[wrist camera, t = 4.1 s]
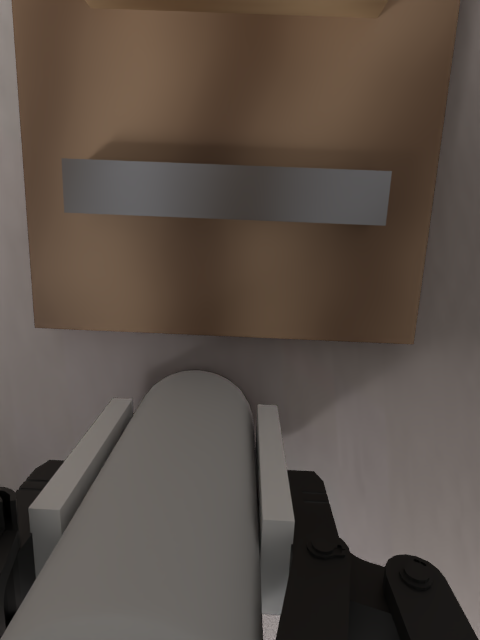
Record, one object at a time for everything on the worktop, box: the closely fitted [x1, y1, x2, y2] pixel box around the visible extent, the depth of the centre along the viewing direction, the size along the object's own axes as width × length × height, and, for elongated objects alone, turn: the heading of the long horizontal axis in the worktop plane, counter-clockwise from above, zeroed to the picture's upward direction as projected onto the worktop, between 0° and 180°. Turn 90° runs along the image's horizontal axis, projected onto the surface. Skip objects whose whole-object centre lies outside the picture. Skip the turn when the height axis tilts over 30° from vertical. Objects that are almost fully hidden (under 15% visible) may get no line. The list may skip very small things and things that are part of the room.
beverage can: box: [0, 370, 263, 640], centre depth 12 cm, size 5×5×12 cm
